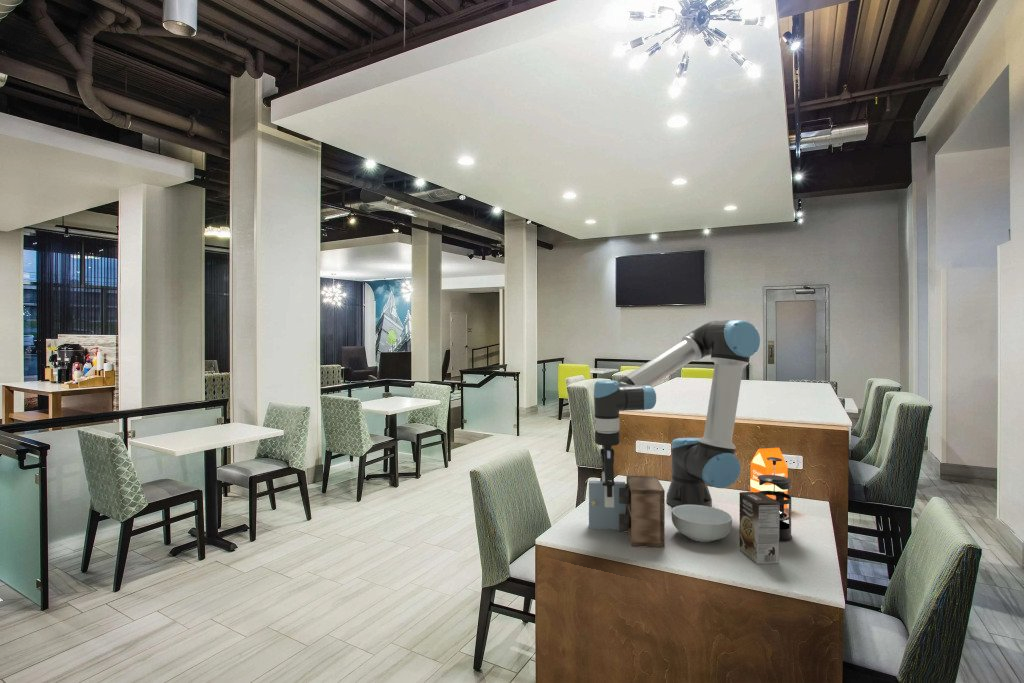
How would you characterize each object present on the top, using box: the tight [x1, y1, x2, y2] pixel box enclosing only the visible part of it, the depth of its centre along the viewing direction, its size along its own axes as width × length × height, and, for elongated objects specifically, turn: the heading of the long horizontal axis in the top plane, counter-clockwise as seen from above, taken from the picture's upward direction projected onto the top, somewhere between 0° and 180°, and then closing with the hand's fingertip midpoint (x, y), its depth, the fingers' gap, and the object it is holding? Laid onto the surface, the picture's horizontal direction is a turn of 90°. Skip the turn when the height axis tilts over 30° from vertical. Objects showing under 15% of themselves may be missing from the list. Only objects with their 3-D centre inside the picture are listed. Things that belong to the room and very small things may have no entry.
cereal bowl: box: [671, 505, 733, 543], centre depth 151 cm, size 17×17×7 cm
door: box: [588, 480, 627, 530], centre depth 158 cm, size 11×4×14 cm, turn 83°
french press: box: [758, 457, 793, 543], centre depth 152 cm, size 12×9×23 cm
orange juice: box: [749, 447, 789, 509], centre depth 178 cm, size 8×9×20 cm
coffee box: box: [738, 491, 780, 565], centre depth 137 cm, size 9×6×16 cm
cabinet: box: [618, 475, 666, 548], centre depth 152 cm, size 12×16×16 cm
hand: (607, 499), depth 158 cm, fingers open, 13 cm apart
